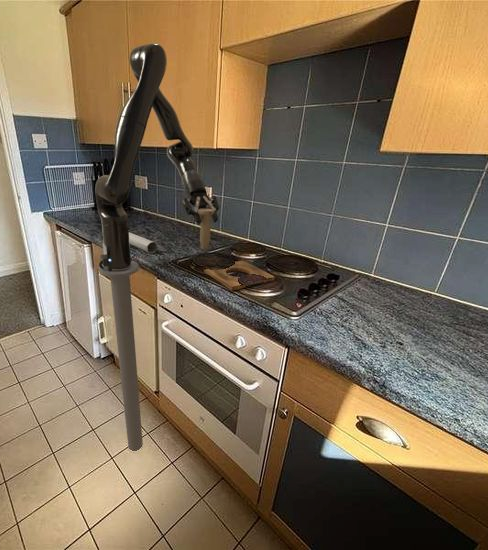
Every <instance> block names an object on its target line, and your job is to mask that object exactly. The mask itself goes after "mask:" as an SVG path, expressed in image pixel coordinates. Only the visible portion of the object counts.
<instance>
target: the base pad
mask: <svg viewBox="0 0 488 550" xmlns="http://www.w3.org/2000/svg"><path fill="white" fill-rule="evenodd" d="M234 262H235V264H234V265H232V266H230V267H229V268H226V269H223V270H210V269H206V270H204V269H203V273H205V274H206V275H208V276H209V277H211V278H212V279H214V280H215V281H216V282H218V283H220V284H221V285H223V286H224V287H225V288H227V289H229V290H230V291H231V292H233V291H237V290H242V289H245V288H247V287H246V286H245V285H243V286H240V285H241V284H239V282H238V278H240V276H233V275H231V274H228V273H231V272H242V273H245V274H247V275H248V276H249V275H251V274H256V275H261V276H264V277H266V278H267V279H268V278H272V279H268V280H264V281H261V282H264V283H263V284H266V283H269V282H274V281H275V275H272V274H270V273H268V272H266V271H264V270H263V269H260V268H259V267H257V266H255V265H253V264H250V262H247V261H246V260H238V261H234ZM228 269H230V270H228Z"/></svg>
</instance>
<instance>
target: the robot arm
mask: <svg viewBox="0 0 488 550" xmlns="http://www.w3.org/2000/svg"><path fill="white" fill-rule="evenodd" d="M167 63H168V61H167V53H166V51H165V49H164V47H163V46H162V45H161V44H158V43H146V44H142V45H137V46H136V47H134V48H132V50H131V52H130V54H129V66H130V69H131V71H132V73H133V75H134V78H135V79H136V81H137V85H136V87H135V89H134V91H133V92H132V93H131V95H130V96H129V98H128V99H127V100H126V101H125V103H124V105H123V106H122V108H121V110H120V112H119V115H118V118H117V121H116V125H115V129H114V161H113V164H112V168H111V171H110V173H109V174H104V175H101V176H100V177H98V179H97V180H96V183H95V186H94V187H95V189H94V190H95V191H94V193H95V200H96V207H97V213H98V215H99V217H100V223H101V228H102V229H101V231H102V239H103V241H102V252H103V254H100V255H99V258H100V261H99V263H98V267H100V268H101V269H104V267H106V268H107V269H108V271H123V270H127V269H129V268H130V267H131V261H133V258H132V257H131V246H130V243H129V232H130V231H129V230H130V229H129V217H128V214H127V213H126V211H125V209H124V207H123V204H124V203H126V201H127V200H128V197H129V196H130V192H131V187H132V182H133V176H134V171H135V166H136V164H137V160H138V157H139V152H140V149H141V145H142V142H143V140H144V136H145V133H146V130H147V126H148V121H149V118H150V115H151V112H152V110H153V112H154V113H155V116H156V118H157V121H158V123H159V126H160V128H161V130H162V133H163V136H164V138H165V139H166V140H167V141H176V140H178V141H177V142H175V143H173V144H171V145H169V146H168V147H167V148H166V155H167V158H168V160H169V161H170V162H171V163H172V165H173V166H174V167H175V168H176V170H177V172H178V175H179V177H180V179H181V184H182V187H183V189H184V191H185V194H186V197H184V198H183V200H182V201H181V204H182V206H183V208H184V210H185V212H186V214H187V215H188V216H191V215H192V217H193V218H194V222H195V223H196V224H197V225H201V215H199V213H198V210H199V209H205V208H210V209H214V210H215V212H214V214H212V215H211V219H212V221H213V223H217V222H218V220H219V215H218V214H217V213H218V210H220V206H219V202H218V199H217V196H216V195H213V196H209V195H208V193H207V189H206V186H205V183H204V182H203V179H202V177H201V175H200V173H199V170H198V168H197V166H196V163H195V162H194V160H193V159H191V157H193V155H194V151H195V150H194V147H193V144H192V143H191V141H190V140H189V139H188V137H187V135H186V134H185V132H184V131H183V129H182V125H181V122H180V120H179V117H178V114H177V111H175V108H174V107H173V105H172V104H171V103H170V101H169V100H168V99H167V97H166V96H165V95H164V93H163V92H162V90H161V89H160V87H161V84H162V81H163V79H164V76H165V74H166V71H167ZM102 265H103V266H104V267H103V266H102Z"/></svg>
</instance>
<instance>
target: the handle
mask: <svg viewBox="0 0 488 550" xmlns="http://www.w3.org/2000/svg"><path fill="white" fill-rule="evenodd" d="M214 212H215V210H214V209H211V208H205V209H204V208H200V209H198V211H197V213H199V215H200V218H201V223H200V230H199V244H200V250H203V251H205V250H206V251H208V250H209V249H210V242H211V218H212V216H211V215H212V214H214Z"/></svg>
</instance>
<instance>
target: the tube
mask: <svg viewBox="0 0 488 550" xmlns="http://www.w3.org/2000/svg"><path fill="white" fill-rule="evenodd" d="M129 243H130V245H131V246H133V247H135V248H137V249H139V250H142V251H144V252H147V253H148V254H149V255H152V254H155V253H156V251H157V250H158V244H157V243H156V242H155V241H152V240H150V239H147V238H145V237H142V236H139V235H137V234H135V233H132V232H130V231H129Z"/></svg>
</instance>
